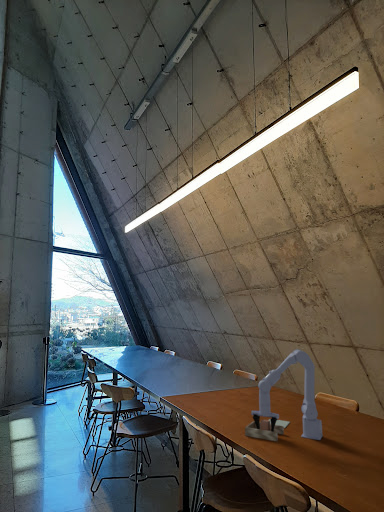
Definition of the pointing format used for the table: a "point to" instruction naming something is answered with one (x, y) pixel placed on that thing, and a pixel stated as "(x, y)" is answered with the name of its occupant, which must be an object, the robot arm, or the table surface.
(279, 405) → the table surface
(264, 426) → the terracotta block
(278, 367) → the robot arm
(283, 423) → the mat
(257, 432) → the slot housing
